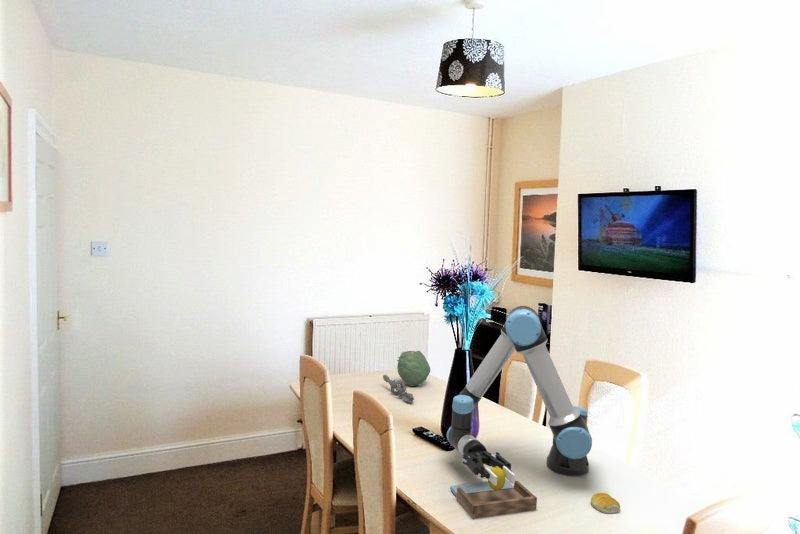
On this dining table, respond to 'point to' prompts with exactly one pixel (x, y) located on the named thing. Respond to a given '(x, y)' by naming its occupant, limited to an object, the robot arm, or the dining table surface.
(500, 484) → the lemon
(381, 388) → the dining table surface
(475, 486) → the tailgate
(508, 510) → the brown wooden tray
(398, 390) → the spaceship
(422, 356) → the cabbage
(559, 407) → the robot arm
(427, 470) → the dining table surface
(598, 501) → the bread roll
